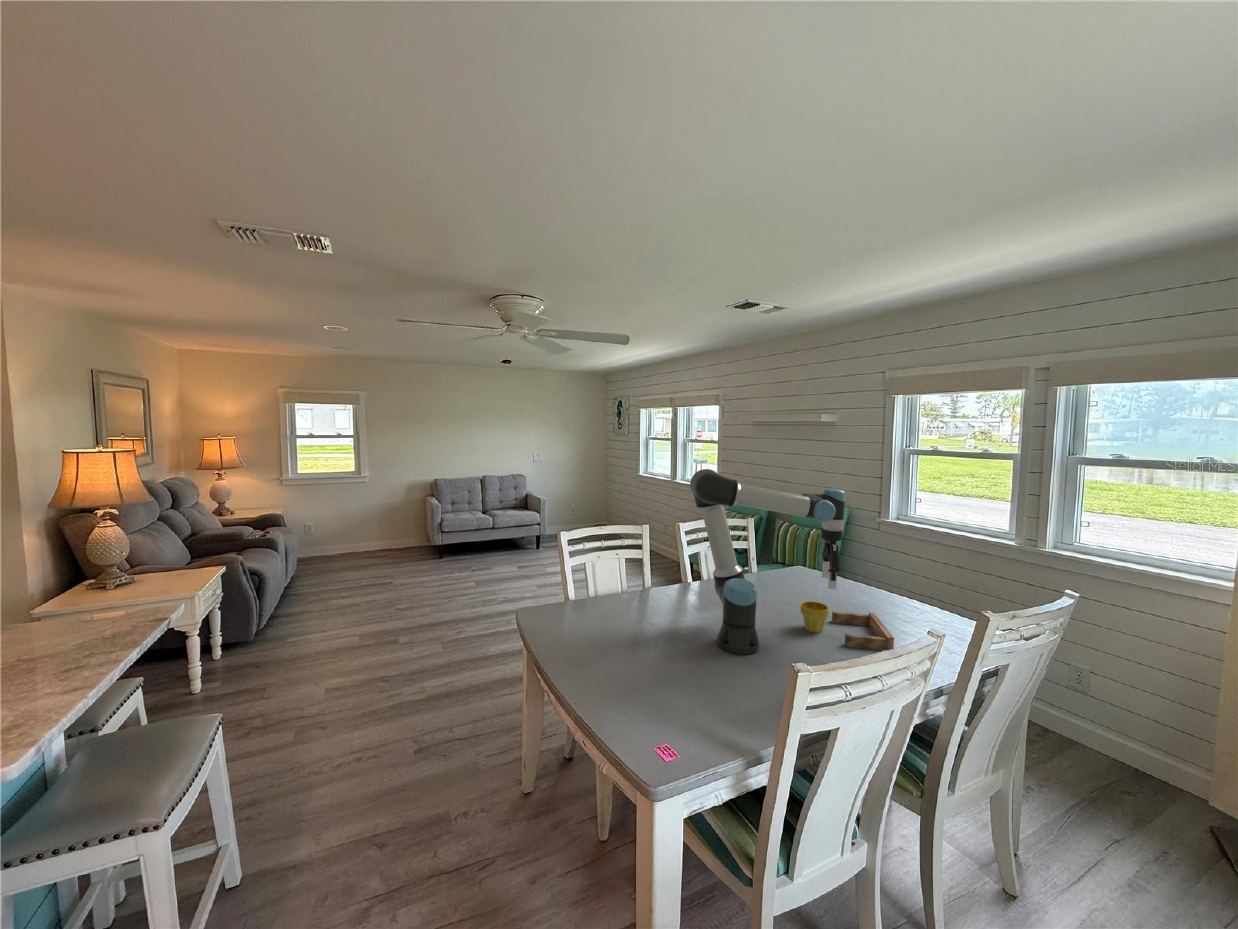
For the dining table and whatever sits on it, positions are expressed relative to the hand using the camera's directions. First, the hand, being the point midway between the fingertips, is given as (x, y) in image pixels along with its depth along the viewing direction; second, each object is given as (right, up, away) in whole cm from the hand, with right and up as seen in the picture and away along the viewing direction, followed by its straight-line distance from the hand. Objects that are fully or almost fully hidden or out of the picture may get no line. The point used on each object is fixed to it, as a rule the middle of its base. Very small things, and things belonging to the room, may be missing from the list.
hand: (828, 583), depth 191 cm
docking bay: (+11, -20, 0) cm, 23 cm away
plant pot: (-4, -20, +5) cm, 21 cm away
